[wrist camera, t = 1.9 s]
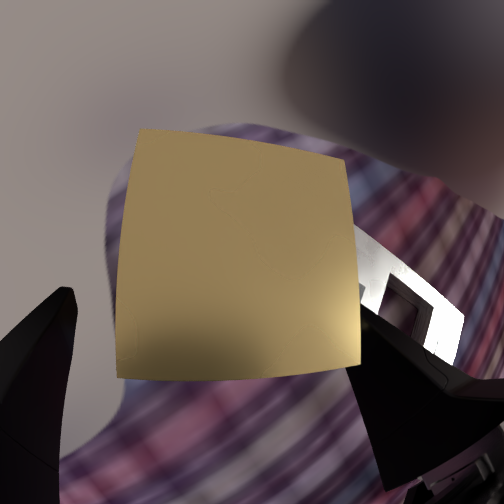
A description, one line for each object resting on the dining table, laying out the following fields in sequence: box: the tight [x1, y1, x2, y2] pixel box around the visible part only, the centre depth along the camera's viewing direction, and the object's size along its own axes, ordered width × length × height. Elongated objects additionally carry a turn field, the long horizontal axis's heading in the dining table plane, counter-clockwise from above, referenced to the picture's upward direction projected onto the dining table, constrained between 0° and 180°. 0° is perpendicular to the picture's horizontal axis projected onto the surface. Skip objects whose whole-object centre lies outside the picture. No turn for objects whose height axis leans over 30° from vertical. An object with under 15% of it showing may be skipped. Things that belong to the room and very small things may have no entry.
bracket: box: [354, 225, 464, 365], centre depth 20 cm, size 8×18×2 cm, turn 63°
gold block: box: [115, 129, 361, 381], centre depth 11 cm, size 5×5×13 cm
